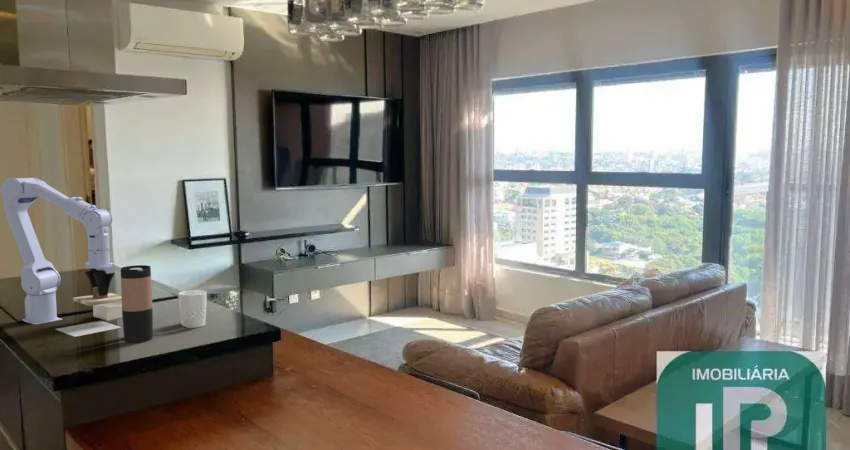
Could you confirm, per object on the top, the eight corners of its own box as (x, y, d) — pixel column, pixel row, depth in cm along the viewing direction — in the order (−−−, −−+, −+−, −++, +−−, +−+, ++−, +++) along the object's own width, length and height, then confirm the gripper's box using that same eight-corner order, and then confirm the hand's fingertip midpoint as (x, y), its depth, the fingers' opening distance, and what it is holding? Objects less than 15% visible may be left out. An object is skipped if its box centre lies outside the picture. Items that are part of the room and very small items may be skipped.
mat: (54, 330, 183) (54, 329, 183) (100, 322, 194) (100, 320, 194) (75, 338, 175) (74, 336, 175) (121, 329, 186) (121, 327, 186)
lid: (73, 300, 190) (72, 287, 190) (110, 295, 199) (110, 283, 199) (89, 306, 183) (89, 292, 183) (127, 300, 192) (127, 287, 192)
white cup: (198, 329, 185) (197, 295, 184) (174, 328, 187) (172, 294, 186) (212, 322, 193) (211, 290, 192) (189, 321, 195) (188, 289, 194)
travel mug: (129, 335, 178) (126, 265, 176) (157, 335, 179) (154, 265, 177) (118, 343, 171) (115, 269, 169) (148, 342, 171) (145, 269, 169)
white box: (93, 318, 199) (92, 303, 198) (122, 312, 206) (121, 299, 205) (107, 322, 193) (106, 307, 193) (136, 317, 200) (135, 302, 200)
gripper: (123, 250, 188) (125, 295, 190) (101, 246, 198) (103, 289, 199) (99, 252, 183) (101, 299, 184) (77, 248, 192) (79, 292, 193)
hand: (100, 294), depth 191 cm, fingers closed on lid, 3 cm apart
